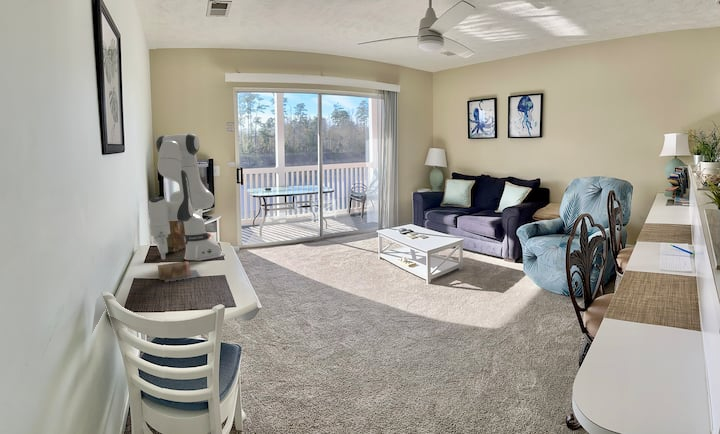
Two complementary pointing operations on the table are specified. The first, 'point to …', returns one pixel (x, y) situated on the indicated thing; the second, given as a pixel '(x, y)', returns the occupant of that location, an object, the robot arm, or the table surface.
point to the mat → (192, 275)
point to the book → (176, 236)
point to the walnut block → (173, 270)
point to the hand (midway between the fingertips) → (163, 258)
